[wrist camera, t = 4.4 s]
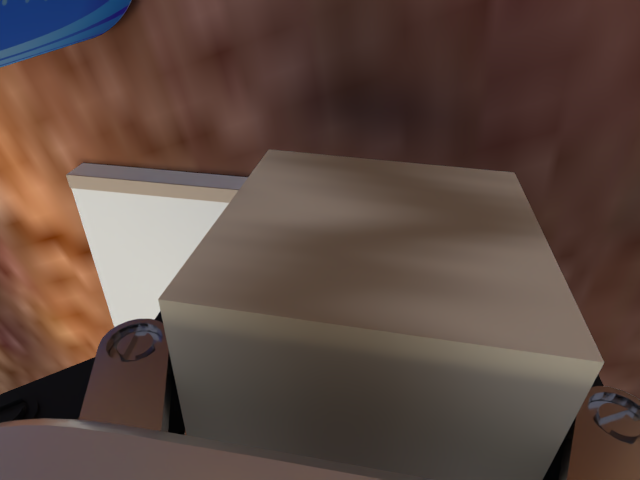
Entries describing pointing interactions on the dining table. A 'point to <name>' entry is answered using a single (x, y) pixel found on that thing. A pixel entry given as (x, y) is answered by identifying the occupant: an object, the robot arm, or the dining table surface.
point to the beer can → (52, 25)
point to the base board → (145, 227)
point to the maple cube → (380, 321)
